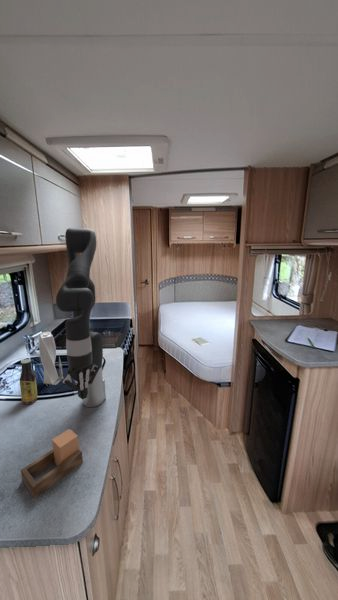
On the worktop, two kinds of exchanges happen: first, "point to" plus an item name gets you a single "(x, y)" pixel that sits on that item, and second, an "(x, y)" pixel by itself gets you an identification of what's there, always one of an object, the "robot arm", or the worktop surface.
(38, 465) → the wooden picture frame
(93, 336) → the robot arm
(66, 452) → the block
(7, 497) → the worktop surface
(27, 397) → the sauce bottle
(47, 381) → the skyscraper
